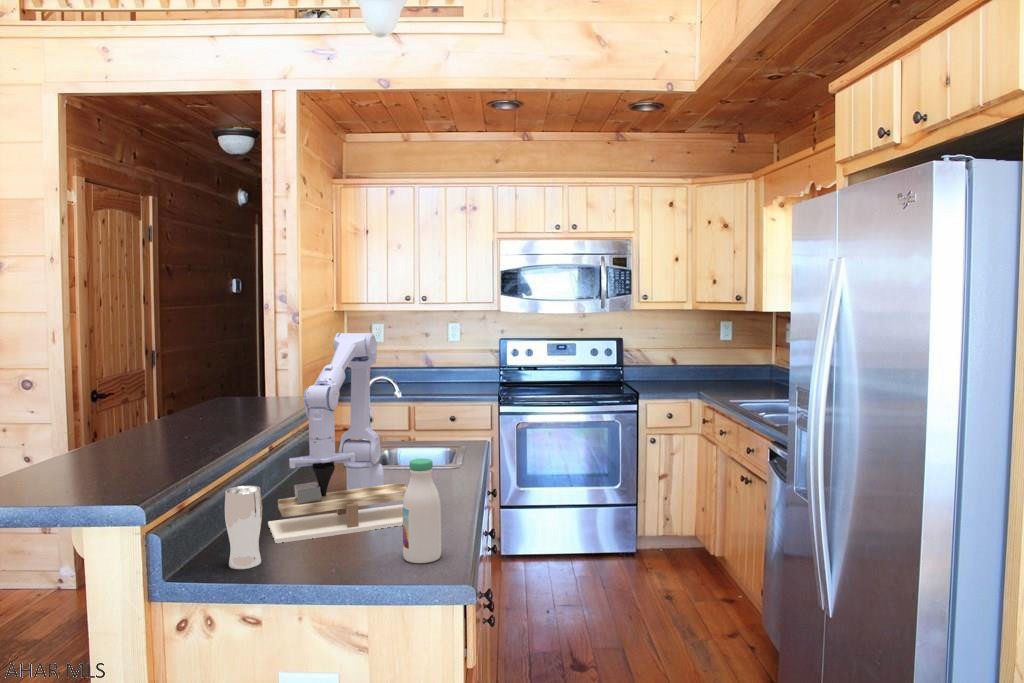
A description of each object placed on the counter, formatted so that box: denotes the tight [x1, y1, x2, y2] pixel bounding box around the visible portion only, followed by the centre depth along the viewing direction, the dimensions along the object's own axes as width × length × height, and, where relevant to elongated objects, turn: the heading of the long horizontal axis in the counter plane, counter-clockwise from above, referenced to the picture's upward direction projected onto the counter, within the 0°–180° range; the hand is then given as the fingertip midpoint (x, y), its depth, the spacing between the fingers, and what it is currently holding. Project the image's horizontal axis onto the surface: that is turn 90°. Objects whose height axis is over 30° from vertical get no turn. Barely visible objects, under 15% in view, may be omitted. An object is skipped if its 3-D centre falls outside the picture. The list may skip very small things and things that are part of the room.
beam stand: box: [267, 503, 403, 544], centre depth 170 cm, size 34×14×6 cm, turn 115°
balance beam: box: [277, 482, 408, 518], centre depth 170 cm, size 30×9×3 cm, turn 115°
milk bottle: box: [402, 458, 442, 564], centre depth 147 cm, size 8×8×20 cm
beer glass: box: [224, 485, 263, 570], centre depth 144 cm, size 7×7×15 cm
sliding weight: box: [293, 481, 321, 505], centre depth 166 cm, size 5×5×4 cm
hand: (323, 495), depth 168 cm, fingers closed
